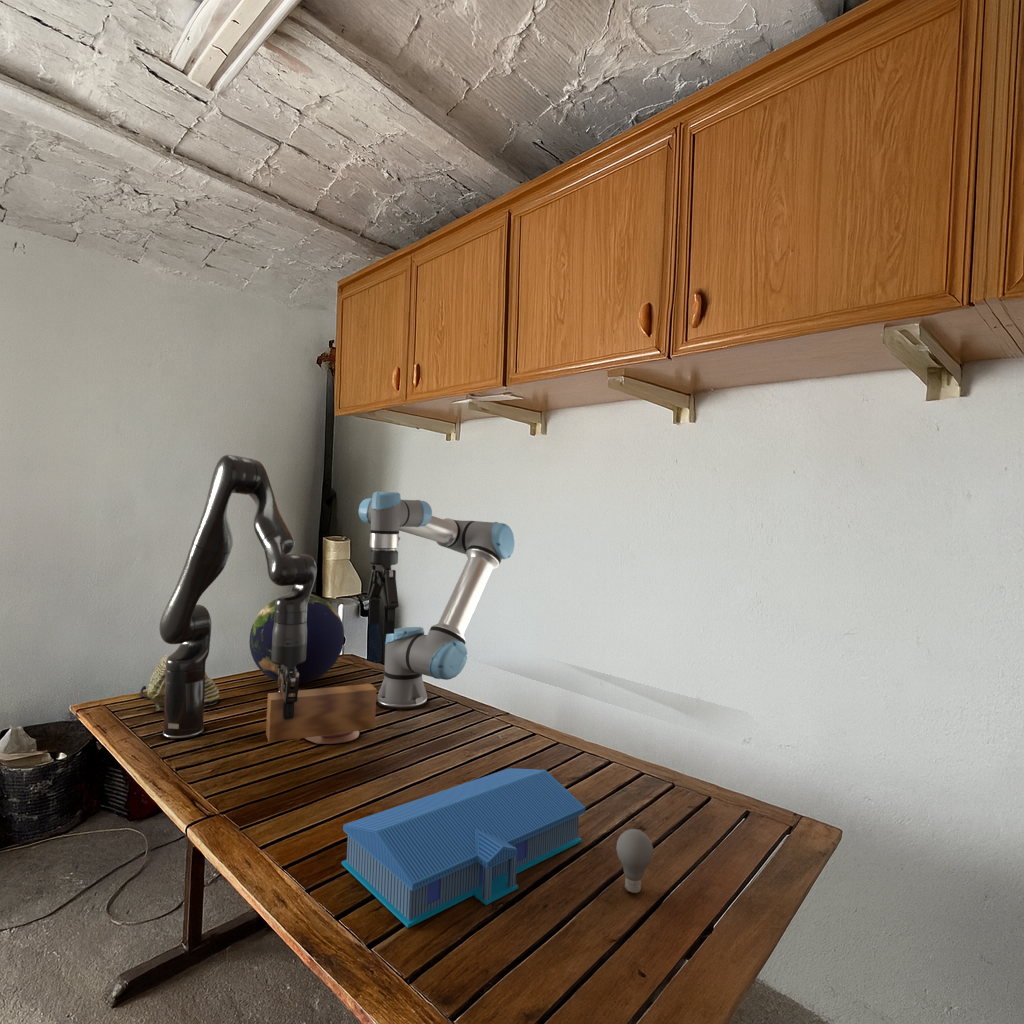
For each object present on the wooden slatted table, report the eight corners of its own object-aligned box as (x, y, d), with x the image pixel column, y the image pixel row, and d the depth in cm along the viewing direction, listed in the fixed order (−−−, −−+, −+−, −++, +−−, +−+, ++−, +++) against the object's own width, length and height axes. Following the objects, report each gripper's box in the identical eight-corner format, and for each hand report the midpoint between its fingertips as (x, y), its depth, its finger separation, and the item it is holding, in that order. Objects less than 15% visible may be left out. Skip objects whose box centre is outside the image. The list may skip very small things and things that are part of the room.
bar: (268, 742, 141) (270, 699, 141) (265, 734, 146) (267, 693, 146) (374, 728, 153) (376, 689, 153) (369, 721, 157) (370, 683, 157)
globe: (227, 687, 204) (230, 594, 203) (291, 666, 231) (294, 584, 231) (301, 702, 192) (305, 604, 192) (360, 678, 220) (363, 592, 220)
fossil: (144, 707, 182) (145, 655, 182) (212, 696, 194) (213, 647, 194) (151, 716, 175) (153, 662, 175) (221, 703, 188) (223, 653, 188)
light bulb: (610, 879, 108) (613, 822, 108) (644, 879, 109) (647, 822, 109) (619, 902, 102) (622, 840, 102) (655, 901, 103) (658, 840, 103)
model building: (420, 939, 92) (422, 871, 92) (340, 863, 110) (342, 805, 110) (595, 848, 118) (598, 795, 118) (507, 798, 136) (509, 752, 136)
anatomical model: (298, 725, 162) (320, 711, 174) (297, 741, 162) (319, 726, 174) (346, 731, 160) (365, 717, 171) (345, 747, 160) (365, 731, 171)
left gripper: (312, 647, 140) (309, 723, 141) (300, 633, 153) (297, 703, 153) (277, 649, 137) (273, 727, 137) (268, 635, 150) (264, 706, 150)
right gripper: (413, 553, 160) (409, 637, 160) (383, 545, 182) (380, 619, 182) (384, 553, 157) (380, 639, 157) (357, 545, 178) (355, 620, 179)
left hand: (286, 714), depth 145 cm, fingers closed on bar, 5 cm apart
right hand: (380, 628), depth 170 cm, fingers open, 13 cm apart
